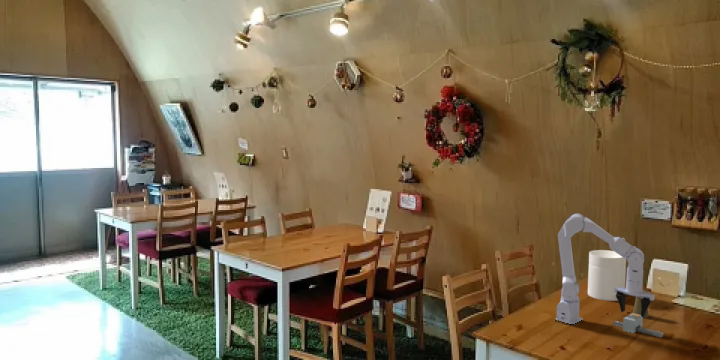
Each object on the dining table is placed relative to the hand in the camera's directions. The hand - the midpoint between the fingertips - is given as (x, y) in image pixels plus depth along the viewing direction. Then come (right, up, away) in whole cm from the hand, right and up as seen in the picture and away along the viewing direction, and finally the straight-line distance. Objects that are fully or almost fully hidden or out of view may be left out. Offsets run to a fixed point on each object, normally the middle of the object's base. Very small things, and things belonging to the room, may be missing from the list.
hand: (632, 313), depth 219 cm
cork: (+11, -5, +16) cm, 20 cm away
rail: (+2, -6, -1) cm, 7 cm away
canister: (+9, -2, +44) cm, 45 cm away
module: (0, -6, +1) cm, 6 cm away
